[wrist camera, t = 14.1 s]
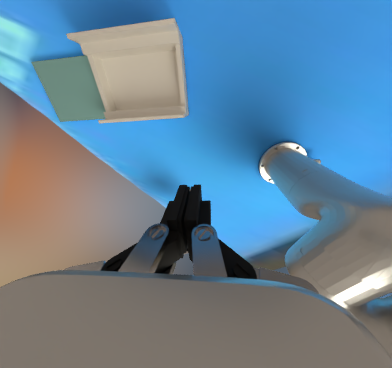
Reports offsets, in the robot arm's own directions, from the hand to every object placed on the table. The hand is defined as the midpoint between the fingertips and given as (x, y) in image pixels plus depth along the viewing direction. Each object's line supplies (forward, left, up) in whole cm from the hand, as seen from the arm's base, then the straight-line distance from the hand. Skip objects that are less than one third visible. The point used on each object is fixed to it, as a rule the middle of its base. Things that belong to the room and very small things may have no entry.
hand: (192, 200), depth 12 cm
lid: (+32, -12, -33) cm, 47 cm away
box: (+14, -12, -32) cm, 37 cm away
